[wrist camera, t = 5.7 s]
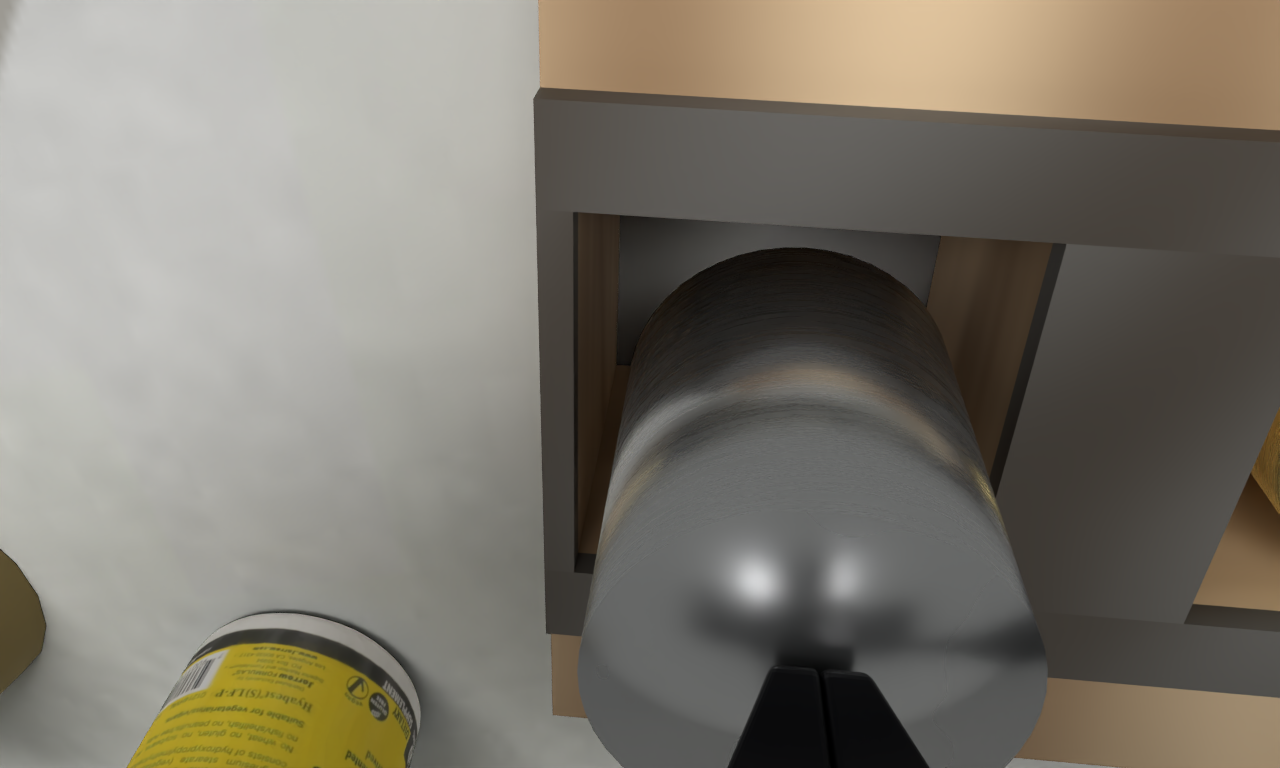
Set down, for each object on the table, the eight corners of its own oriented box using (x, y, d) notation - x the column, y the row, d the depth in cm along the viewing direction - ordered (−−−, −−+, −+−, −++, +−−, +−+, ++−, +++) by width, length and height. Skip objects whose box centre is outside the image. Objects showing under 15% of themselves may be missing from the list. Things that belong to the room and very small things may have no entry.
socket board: (1699, -138, 13) (2214, -70, 8) (1327, 569, 19) (1505, 825, 15) (599, -184, 14) (527, -145, 9) (592, 510, 20) (548, 735, 16)
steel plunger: (982, 259, 12) (1106, 534, 8) (918, 527, 14) (989, 852, 10) (634, 235, 12) (576, 492, 8) (624, 503, 14) (577, 812, 10)
